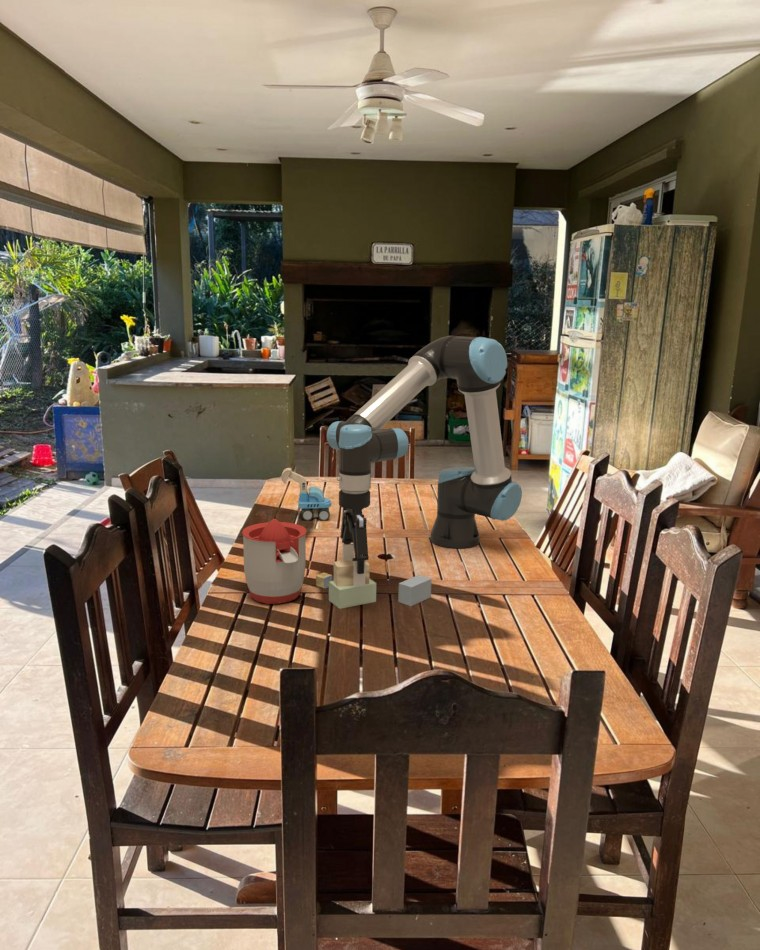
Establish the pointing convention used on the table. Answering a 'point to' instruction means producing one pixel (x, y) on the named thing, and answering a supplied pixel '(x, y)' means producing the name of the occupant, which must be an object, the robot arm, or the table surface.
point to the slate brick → (414, 590)
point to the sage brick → (352, 594)
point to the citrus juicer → (274, 560)
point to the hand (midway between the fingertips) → (353, 577)
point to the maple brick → (347, 573)
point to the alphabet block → (323, 580)
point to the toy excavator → (309, 498)
